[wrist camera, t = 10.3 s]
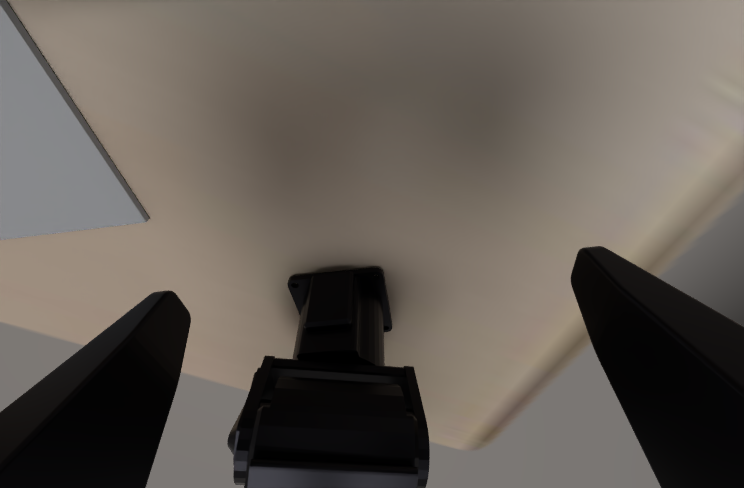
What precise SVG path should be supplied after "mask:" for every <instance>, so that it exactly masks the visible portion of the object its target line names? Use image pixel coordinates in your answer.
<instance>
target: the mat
mask: <svg viewBox="0 0 744 488" xmlns="http://www.w3.org/2000/svg"><path fill="white" fill-rule="evenodd" d="M148 219H149V217H148V215H147V214H146V212H145V211H144V209H143V208H142V206H141V205H140V203H139V202H138V200H137V198H136V197H135V195H134V194H133V192H132V191H131V189H130V188H129V186H128V185H127V183H126V182H125V180H124V179H123V177H122V176H121V174H120V173H119V171H118V170H117V168H116V167H115V165H114V164H113V162H112V161H111V159H110V157H109V156H108V154H107V153H106V151H105V150H104V148H103V147H102V145H101V144H100V142H99V141H98V139H97V138H96V136H95V135H94V133H93V132H92V130H91V129H90V127H89V126H88V124H87V123H86V121H85V120H84V118H83V116H82V115H81V113H80V112H79V110H78V109H77V107H76V106H75V104H74V103H73V101H72V100H71V98H70V97H69V95H68V94H67V92H66V91H65V89H64V88H63V86H62V85H61V83H60V82H59V80H58V79H57V77H56V75H55V74H54V72H53V71H52V69H51V68H50V66H49V65H48V63H47V62H46V60H45V59H44V57H43V56H42V54H41V53H40V51H39V50H38V48H37V47H36V45H35V44H34V42H33V41H32V39H31V38H30V36H29V34H28V33H27V31H26V30H25V28H24V27H23V25H22V24H21V22H20V21H19V19H18V18H17V16H16V15H15V13H14V12H13V10H12V9H11V7H10V6H9V4H8V3H7V1H6V0H0V240H4V239H13V238H21V237H29V236H37V235H45V234H54V233H62V232H70V231H78V230H87V229H95V228H103V227H111V226H119V225H128V224H136V223H144V222H147V221H148Z"/></svg>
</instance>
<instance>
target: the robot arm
mask: <svg viewBox="0 0 744 488" xmlns="http://www.w3.org/2000/svg"><path fill="white" fill-rule="evenodd" d="M375 274H376V275H377V276H375ZM295 283H297V284H295ZM571 285H572V288H573V291H574V294H575V297H576V299H577V302H578V305H579V308H580V311H581V314H582V317H583V320H584V322H585V325H586V328H587V331H588V334H589V337H590V340H591V342H592V345H593V347H594V350H595V352H596V354H597V357H598V359H599V361H600V363H601V365H602V367H603V369H604V371H605V373H606V375H607V377H608V379H609V381H610V384H611V386H612V388H613V390H614V391H615V394H616V396H617V398H618V400H619V402H620V404H621V406H622V408H623V410H624V412H625V414H626V416H627V418H628V420H629V423H630V425H631V427H632V429H633V431H634V433H635V435H636V437H637V439H638V441H639V443H640V445H641V447H642V449H643V451H644V453H645V455H646V457H647V459H648V462H649V464H650V466H651V468H652V470H653V472H654V474H655V476H656V478H657V480H658V482H659V484H660V486H661V488H744V327H743V326H741V325H740V324H738V323H736V322H734V321H733V320H731V319H729V318H727V317H726V316H724V315H722V314H720V313H719V312H717V311H715V310H713V309H712V308H710V307H708V306H706V305H705V304H703V303H701V302H699V301H698V300H696V299H694V298H692V297H691V296H689V295H687V294H685V293H683V292H682V291H680V290H678V289H676V288H675V287H673V286H671V285H670V284H668V283H666V282H664V281H663V280H661V279H659V278H657V277H656V276H654V275H652V274H650V273H649V272H647V271H645V270H643V269H642V268H640V267H638V266H636V265H635V264H633V263H631V262H629V261H627V260H626V259H624V258H622V257H620V256H619V255H617V254H615V253H613V252H612V251H610V250H608V249H606V248H604V247H601V246H596V247H586V248H582V249H580V250H579V251H578V254H577V257H576V260H575V264H574V267H573V270H572V274H571ZM288 288H289V290H290V292H291V295H292V297H293V300H294V302H295V304H296V307H297V309H298V311H299V314H300V321H299V327H298V332H297V337H296V343H295V348H294V354H293V359H281V358H275V356H265V357H264V360H263V362H262V365H261V368H258V370H257V372H255V374H254V377H253V381H252V385H251V389H250V392H249V394H248V397H247V400H246V403H245V405H244V407H243V409H242V411H241V413H240V415H239V417H238V419H237V421H236V422H235V424H234V426H233V428H232V430H231V432H230V434H229V437H228V447H229V449H230V450H231V452H232V453H233V455H234V483H235V484H236V485H245V486H244V488H425V487H426V484H427V479H428V472H429V435H428V428H427V422H426V418H425V413H424V409H423V405H422V401H421V397H420V392H419V388H418V384H417V380H416V375H415V371H414V367H411V366H404V367H390V366H385V363H384V332H389V331H391V330H392V320H391V314H390V308H389V303H388V297H387V291H386V285H385V279H384V273H383V270H382V269H380V268H366V269H356V270H347V271H337V272H327V273H318V274H308V275H299V276H292V277H290V278H289V280H288ZM190 323H191V317H190V313H189V311H188V310H187V309H186V307H185V306H184V304H183V303H182V302H181V300H180V299H179V297H178V296H177V295H176V293H174V292H173V291H160V292H154V293H152V294H150V295H149V296H148V297H147V298H145V299H144V300H143V301H141V302H140V303H139V304H138V305H136V306H135V307H134V308H133V309H131V310H130V311H129V312H127V313H126V314H125V315H124V316H122V317H121V318H120V319H119V320H117V321H116V322H115V323H113V324H112V325H111V326H110V327H108V328H107V329H106V330H104V331H103V332H102V333H101V334H99V335H98V336H97V337H96V338H94V339H93V340H92V341H90V342H89V343H88V344H87V345H85V346H84V347H83V348H82V349H80V350H79V351H78V352H77V353H75V354H74V355H73V356H71V357H70V358H69V359H68V360H66V361H65V362H64V363H62V364H61V365H60V366H59V367H57V368H56V369H55V370H54V371H52V372H51V373H50V374H49V375H47V376H46V377H45V378H43V379H42V380H41V381H40V382H38V383H37V384H36V385H34V386H33V387H32V388H31V389H29V390H28V391H27V392H26V393H24V394H23V395H22V396H21V397H19V398H18V399H17V400H15V401H14V402H13V403H12V404H10V405H9V406H8V407H6V408H5V409H4V410H3V411H1V412H0V488H145V487H146V484H147V480H148V478H149V474H150V471H151V468H152V465H153V462H154V459H155V455H156V452H157V449H158V446H159V443H160V440H161V437H162V433H163V430H164V427H165V424H166V421H167V417H168V414H169V411H170V408H171V405H172V402H173V398H174V395H175V392H176V388H177V385H178V381H179V377H180V373H181V368H182V363H183V358H184V353H185V348H186V343H187V338H188V333H189V328H190Z"/></svg>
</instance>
